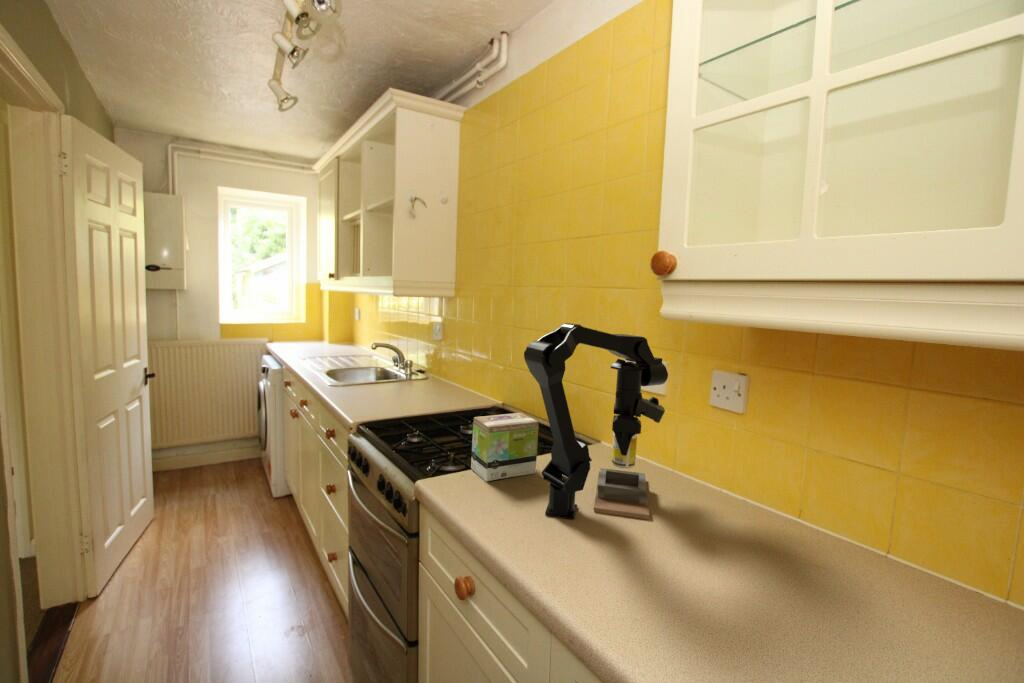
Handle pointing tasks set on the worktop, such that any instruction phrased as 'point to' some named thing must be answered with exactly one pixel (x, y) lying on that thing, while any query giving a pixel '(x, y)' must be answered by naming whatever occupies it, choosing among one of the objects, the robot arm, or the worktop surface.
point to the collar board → (622, 494)
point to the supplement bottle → (620, 459)
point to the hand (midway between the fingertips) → (623, 451)
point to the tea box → (504, 446)
